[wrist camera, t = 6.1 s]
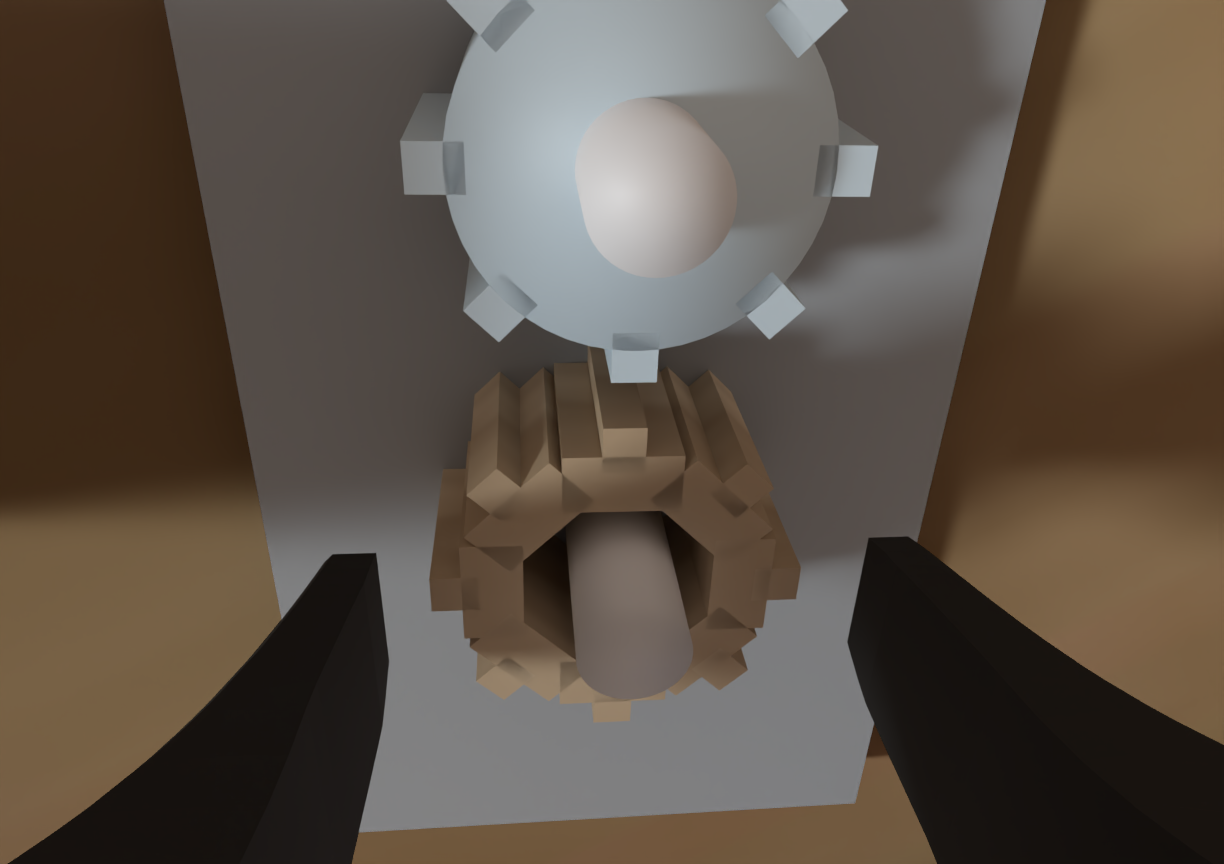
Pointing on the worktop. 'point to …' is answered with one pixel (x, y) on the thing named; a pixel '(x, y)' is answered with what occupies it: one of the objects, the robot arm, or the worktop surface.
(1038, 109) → the worktop surface
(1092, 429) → the worktop surface
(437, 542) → the loose gear
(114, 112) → the worktop surface
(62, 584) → the worktop surface
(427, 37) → the gear board
